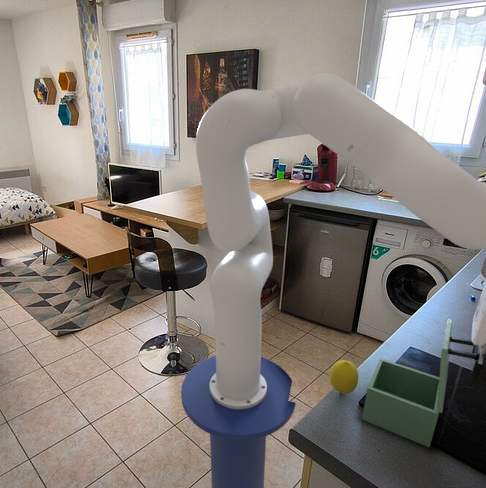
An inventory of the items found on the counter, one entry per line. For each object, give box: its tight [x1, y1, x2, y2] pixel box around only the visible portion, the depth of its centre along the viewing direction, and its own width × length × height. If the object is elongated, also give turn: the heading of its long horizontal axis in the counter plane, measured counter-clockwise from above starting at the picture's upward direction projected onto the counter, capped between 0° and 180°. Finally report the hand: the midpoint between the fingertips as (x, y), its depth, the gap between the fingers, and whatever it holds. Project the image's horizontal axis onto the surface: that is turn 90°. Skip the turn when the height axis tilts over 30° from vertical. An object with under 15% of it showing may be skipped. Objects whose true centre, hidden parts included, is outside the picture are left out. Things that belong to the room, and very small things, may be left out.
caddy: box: [361, 357, 440, 448], centre depth 69 cm, size 11×10×8 cm
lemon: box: [329, 359, 359, 395], centre depth 75 cm, size 6×6×8 cm
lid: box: [437, 318, 486, 414], centre depth 61 cm, size 12×10×6 cm
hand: (482, 370), depth 59 cm, fingers open, 6 cm apart
